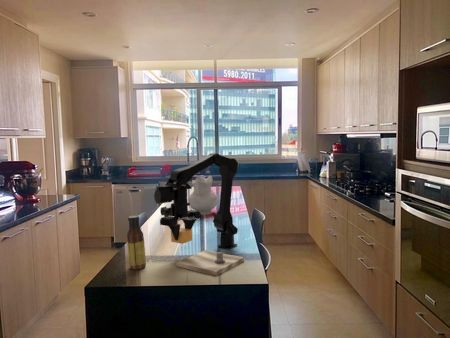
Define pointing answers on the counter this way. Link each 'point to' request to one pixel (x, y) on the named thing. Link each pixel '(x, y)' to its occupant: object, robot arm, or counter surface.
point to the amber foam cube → (183, 236)
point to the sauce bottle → (135, 244)
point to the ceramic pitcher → (203, 196)
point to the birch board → (210, 262)
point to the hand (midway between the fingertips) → (181, 238)
